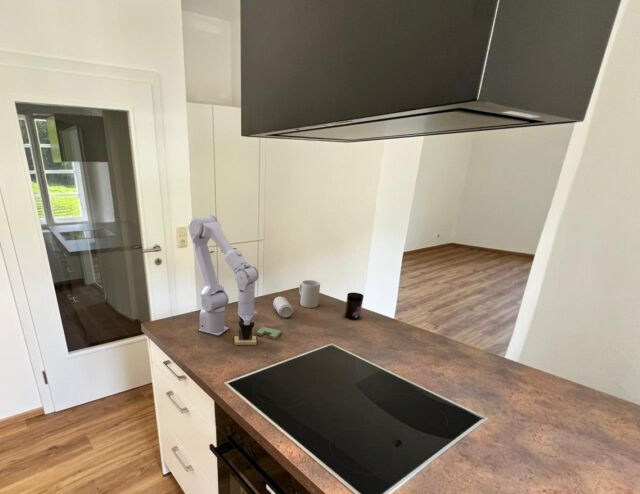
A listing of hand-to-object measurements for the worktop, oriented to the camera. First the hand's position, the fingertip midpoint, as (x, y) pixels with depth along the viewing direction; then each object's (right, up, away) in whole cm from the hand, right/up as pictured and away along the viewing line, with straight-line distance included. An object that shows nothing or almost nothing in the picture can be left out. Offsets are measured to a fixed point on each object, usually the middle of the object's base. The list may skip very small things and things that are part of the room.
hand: (245, 334), depth 134 cm
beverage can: (+18, +9, +21) cm, 29 cm away
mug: (+30, +13, +40) cm, 52 cm away
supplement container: (+47, +7, +25) cm, 54 cm away
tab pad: (0, -2, +2) cm, 3 cm away
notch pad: (+9, 0, +8) cm, 12 cm away
